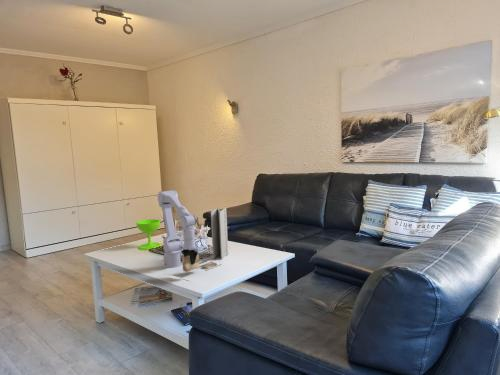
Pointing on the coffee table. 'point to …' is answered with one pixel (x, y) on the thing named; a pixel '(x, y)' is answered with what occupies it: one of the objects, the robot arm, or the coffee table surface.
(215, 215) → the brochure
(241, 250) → the coffee table surface
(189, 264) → the tan wooden block
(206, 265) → the offcut upper
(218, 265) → the rack
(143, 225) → the wineglass
